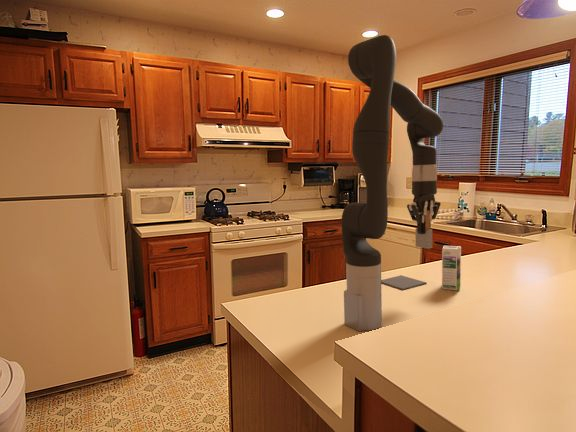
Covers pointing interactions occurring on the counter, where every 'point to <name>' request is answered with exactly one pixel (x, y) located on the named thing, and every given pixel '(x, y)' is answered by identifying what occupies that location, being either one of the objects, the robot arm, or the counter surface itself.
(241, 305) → the counter surface
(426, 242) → the brown piece
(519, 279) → the counter surface
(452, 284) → the syrup box
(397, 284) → the mat
